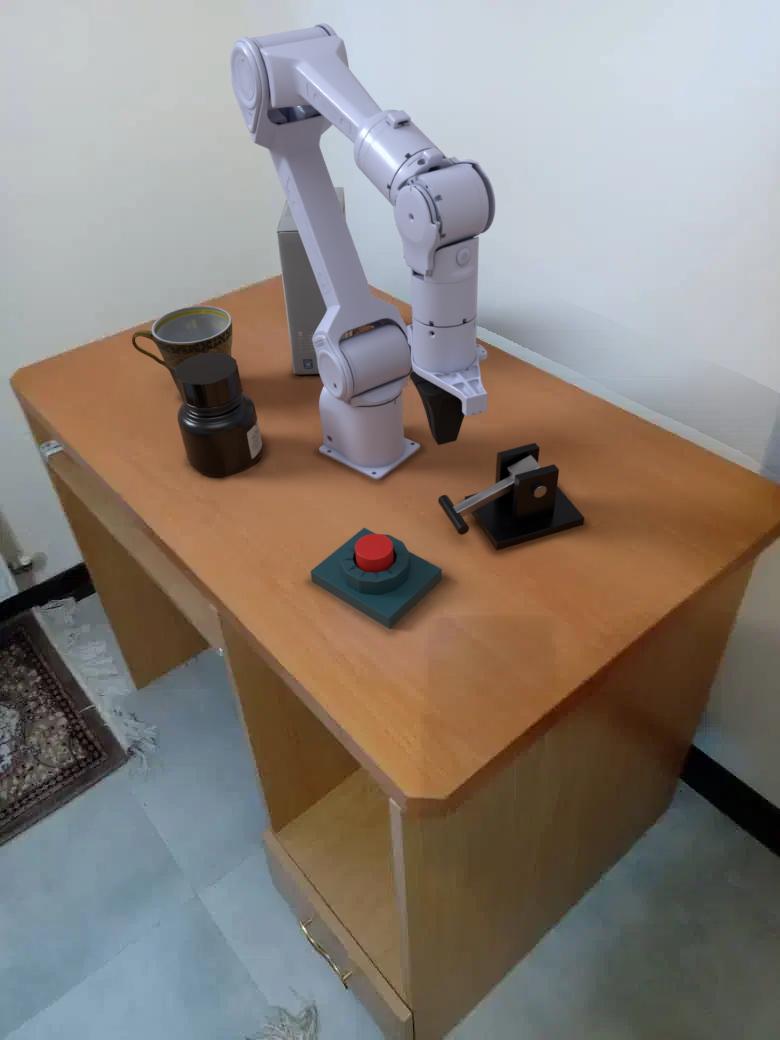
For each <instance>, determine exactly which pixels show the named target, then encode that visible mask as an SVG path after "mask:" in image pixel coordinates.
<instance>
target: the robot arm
mask: <svg viewBox="0 0 780 1040" xmlns="http://www.w3.org/2000/svg"><path fill="white" fill-rule="evenodd" d="M229 62H230V65H229V66H230V73H231V74H230V78H231V87H232V91H233V93H234V96H235V98H236V99H235V100H236V101H237V104H238V107H239V109H240V112H241V115H242V118H243V120H244V122H245V125H246V128H247V130H248V131H249V134H250V137H251V139H252V142H253V144H256V145H258V146H261V147H263V148H265V149H267V151H268V152H269V155H270V159H271V161H272V164H273V167H274V169H275V171H276V172H275V173H276V175H277V177H278V180H279V183H280V186H281V188H282V191H283V194H284V197H285V199H286V200H287V202H288V204H289V207H290V210H291V212H292V215H293V218H294V221H295V223H296V226H297V229H298V231H299V234H300V237H301V240H302V242H303V245H304V248H305V250H306V253H307V256H308V259H309V261H310V264H311V267H312V270H313V272H314V275H315V278H316V280H317V283H318V286H319V289H320V291H321V294H322V297H323V299H324V302H325V305H326V308H327V312H326V314H325V315H324V317H323V319H322V321H321V322H320V324H319V326H318V327H317V329H316V331H315V333H314V335H313V338H312V341H313V345H314V349H315V352H316V356H317V363H318V370H319V374H318V375H319V376H320V379H321V381H322V384H323V387H322V389H321V392H320V394H319V400H318V410H319V418H320V426H321V427H320V428H321V434H322V442H323V444H322V445H320V446H319V448H318V451H319V453H320V454H323V455H324V456H326V457H328V458H330V459H332V460H335V461H336V462H339V463H341V464H343V465H344V466H346V467H349V468H351V469H352V470H354V471H357V472H358V473H361V474H363V475H364V476H367V477H368V478H371V479H373V480H376V481H379V480H381V479H383V478H384V477H385V476H387V475H388V474H389V473H390V472H392V471H393V470H395V469H396V468H397V467H398V466H399V465H401V464H402V463H403V462H405V461H406V460H407V459H409V458H410V457H411V456H413V455H414V454H415V453H417V451H419V450H420V449H421V444H420V443H418V442H416V441H414V440H412V439H409V438H407V437H405V426H404V425H405V424H404V399H403V389H404V388H406V387H408V386H409V378H410V381H411V382H412V383H413V385H414V387H415V389H416V391H417V393H418V395H419V397H420V399H421V403H422V405H423V408H424V412H425V415H426V420H427V423H428V427H429V431H430V434H431V437H432V438H433V441H435V443H436V445H438V446H440V445H446V444H448V443H452V442H456V441H457V440H458V438H459V435H460V430H461V428H462V425H463V422H464V418H465V417H466V418H467V417H472V416H476V415H480V414H484V413H487V411H488V394H489V393H488V392H487V390H486V389H485V387H484V385H483V381H482V375H481V367H480V362H483V361H485V360H487V359H488V350H486V348H485V347H484V346H483V345H481V344H479V343H477V326H478V325H477V323H478V291H479V289H478V286H479V255H480V253H479V252H480V250H479V247H480V237H479V235H481V234H484V233H486V232H487V231H488V230H489V229H490V228H491V226H492V224H493V222H494V219H495V215H496V195H495V192H494V191H495V190H494V187H493V184H492V183H491V180H490V178H489V175H488V174H487V173H486V172H485V170H484V169H483V168H482V166H481V164H480V163H479V162H478V161H476V160H474V159H470V158H469V159H468V158H466V159H462V160H460V159H458V158H457V157H456V156H453V157H448V156H446V154H445V153H444V152H443V151H442V150H441V149H440V148H439V147H438V146H437V145H436V144H435V143H434V142H433V141H432V140H431V139H430V138H429V137H428V136H427V135H426V134H425V133H424V132H423V131H422V130H421V129H420V128H419V127H418V126H417V125H416V124H415V123H414V122H413V121H412V120H411V119H412V118H411V116H410V115H408V114H407V112H406V111H404V109H401V110H398V109H387V110H383V109H382V108H381V107H380V106H379V105H378V103H377V102H376V101H375V100H374V98H373V97H372V96H371V95H370V93H369V92H368V91H367V90H366V88H365V87H364V86H363V84H362V83H361V82H360V80H359V79H358V78H357V77H356V76H355V74H354V73H353V72H352V71H351V69H350V66H349V65H350V64H349V59H348V52H347V48H346V44H345V41H344V40H343V38H341V37H340V36H339V35H338V34H337V33H336V31H335V30H334V29H333V27H332V26H330V25H329V24H327V23H325V22H324V23H317V24H315V25H314V26H311V27H306V28H305V27H304V28H299V29H293V30H287V31H282V32H277V33H270V34H265V35H259V36H258V35H257V36H254V37H248V36H240V37H238V38H237V39H235V41H234V43H233V46H232V49H231V53H230V61H229ZM332 126H334V127H335V128H336V129H337V130H338V131H339V132H340V133H342V135H344V136H345V137H346V138H347V139H348V140H349V141H351V142H352V143H353V144H354V146H353V159H354V163H355V165H356V166H357V168H358V169H359V170H360V171H361V173H362V174H363V175H364V177H366V178H367V179H368V180H369V181H370V183H371V184H372V185H373V186H374V187H375V188H376V189H377V191H379V193H381V195H382V196H383V197H384V198H385V200H387V201H388V202H389V203H390V204H391V206H392V209H393V211H392V212H393V217H394V222H395V225H396V229H397V231H398V233H399V236H400V239H401V242H402V251H403V259H404V260H405V264H406V266H407V267H409V268H410V290H411V294H410V295H411V318H412V319H411V324H407V325H406V323H405V321H404V320H403V318H402V317H403V316H402V315H401V312H400V310H399V308H398V306H396V305H394V304H393V303H391V302H389V301H386V300H384V299H381V298H379V297H377V296H375V295H374V294H373V293H372V291H371V287H370V285H369V282H368V280H367V277H366V273H365V271H364V268H363V264H362V263H361V260H360V257H359V253H358V251H357V249H356V245H355V242H354V240H353V237H352V234H351V231H350V228H349V225H348V223H347V219H346V220H345V217H344V214H343V211H342V209H341V206H340V203H339V200H338V197H337V195H336V192H335V189H334V187H335V186H334V184H333V180H332V178H331V175H330V172H329V169H328V166H327V163H326V161H325V158H324V155H323V152H322V149H321V147H320V146H321V138H322V135H323V134H325V132H326V131H328V130H329V129H330V128H331V127H332ZM364 327H371V328H370V329H367V330H364V331H361V332H359V333H356V334H352V336H350V337H347V338H344V339H342V340H340V338H341V336H342V335H343V334H345V333H348V332H350V331H352V332H353V331H356V330H358V329H362V328H364Z"/></svg>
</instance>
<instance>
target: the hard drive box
mask: <svg viewBox="0 0 780 1040" xmlns="http://www.w3.org/2000/svg"><path fill="white" fill-rule="evenodd" d="M334 189H335V192H336V195H337V197H338V200H339V203H340V206H341V209H342V211H343V214H344V217H345V220H346V221H347V215H346V200H345V188H344V186H342V187H341V186H334ZM276 240H277V247H278V256H279V263H280V271H281V272H280V273H281V281H282V287H283V288H282V289H283V295H284V297H283V298H284V305H285V313H286V321H287V330H288V338H289V345H290V356H291V361H292V362H291V363H292V370H293V374H294V375H297V376H299V375H320V374H319V370H318V363H317V356H316V352H315V349H314V345H313V341H312V338H313V335H314V333H315V331H316V329H317V327H318V326H319V324H320V322H321V321H322V319H323V317H324V315H325V314H326V312H327V308H326V305H325V302H324V299H323V297H322V294H321V291H320V289H319V286H318V283H317V280H316V278H315V275H314V272H313V270H312V267H311V264H310V261H309V259H308V256H307V253H306V250H305V248H304V245H303V242H302V240H301V237H300V234H299V231H298V229H297V226H296V223H295V221H294V218H293V215H292V212H291V210H290V207H289V204H288V202H287V199H286V200H285V203H284V206H283V209H282V213H281V216H280V219H279V223H278V226H277V229H276ZM350 336H353V331H350V332H348V333H345V334H343V335H342V336H341V338H340V340H342V339H344V338H347V337H350Z"/></svg>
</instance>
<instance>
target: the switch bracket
mask: <svg viewBox="0 0 780 1040" xmlns="http://www.w3.org/2000/svg"><path fill="white" fill-rule="evenodd" d="M530 455H531V456H532V457H533V458H534V459H535V460H536V461H537V463H538V464H539V457H540V446H539V445H538V444H537V443H536V442H533V443H529V444H524V445H521V446H518V447H513V448H509V449H506V450H502V451H498V452H496V462H495V463H496V466H495V479H494V480H495V481H494V484H496V483H498V482H500V481H502V480H503V479H505V478H507V477H509V476H510V475H509V472H508V469H507V468H508V467H509V466H511V465H513V464H515V463H517V462H519V461H520V460H522V459H524V458H526V457H528V456H530ZM559 474H560V469H559V468H558V466H557V465H556V464H555V463H554V464H550V465H547V466H541V468H539V469H535V470H531V471H528V472H524V473H520V474H517V475H515V481H514V490H512V491H510V492H508V493H507V494H505V495H503V496H501V497H499V498H497V499H495V500H494V501H492V502H490V503H488V504H486V505H484V506H482V507H481V508H479V509H477V510H475V511H473V512H471V513H470V514H471V515H472V517H473V518H474V520H475V521H476V522H477V524H478V526H479V527H480V529H481V530H482V531H483V533H484V534H485V536H486V537H487V538H488V540H489V541H490V543H491V545H492V546H493V547H494V549H495V550H496V551H500V550H503V549H507V548H510V547H514V546H517V545H520V544H524V543H526V542H530V541H532V540H537V539H540V538H544V537H548V536H550V535H554V534H557V533H560V532H564V531H567V530H570V529H574V528H578V527H581V526H584V524H585V517H584V516H583V514H582V512H580V511H579V509H578V508H577V507H576V506H575V505H574V504H573V502H572V501H571V500H570V499H569V498H568V497H567V495H566V494H565V493H564V492H563V491H562V490H561V488H560V487H559V486H558V482H559V476H560V475H559ZM477 493H478V492H477ZM477 493H473V494H470V495H465V496H464V500H466V499H468V498H470V497H472V496H474V495H476V494H477Z"/></svg>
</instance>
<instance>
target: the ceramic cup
mask: <svg viewBox="0 0 780 1040" xmlns="http://www.w3.org/2000/svg"><path fill="white" fill-rule="evenodd" d="M138 337H142V338H146V339H149V340H151V341H152V342H153V343H154V344H155V346H156V347H157V349H158V351H159V353H160V355H161V358H162V359H160V358H159V356H157V355H155V354H153V353H151V352H150V351H147V350H146V349H144V348H143V347H140V346H139V345H138V344H137V342H136V338H138ZM131 343H132V344H131V345H132V347H133V348H135V349H136V350H137V351H138V352H140V353H141V354H143V355H145V356H147V357H149V358H151V359H153V361H155V362H156V363H158V364H160V365H161V366H163V367H164V368H166V369H167V370H168V371H169V374H170V375H171V377H172V379H173V382H174V384H175V386H176V388H177V390H178V393H179V396H181V394H180V390H179V386H178V382H177V378H176V373H175V370H176V369H177V367H178V365H179V364H180V363H182V362H183V361H185V360H186V359H187V358H190V357H193V356H196V355H198V354H205V353H222V354H226V355H230V356H231V357H232V347H233V319H232V316H231V315H230V313H229V312H228V311H226V310H225V309H222V308H220V307H215V306H210V305H193V306H187V307H181V308H177V309H174V310H172V311H169V312H167V313H165V314H163V315H162V316H160V317H159V318H157V319H156V320H155V322H153V324H152V326H151V330H149V329H139V330H137V331H135V332H134V333H133V334H132V336H131Z"/></svg>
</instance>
